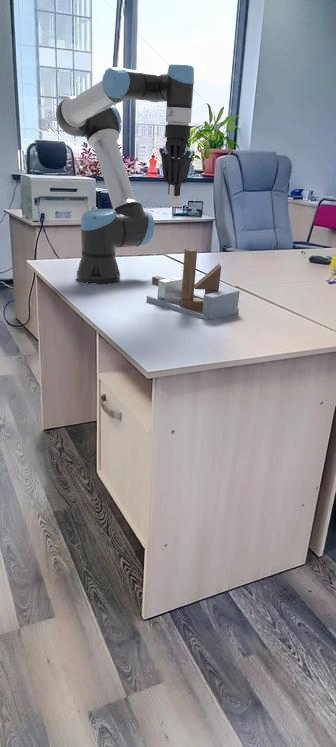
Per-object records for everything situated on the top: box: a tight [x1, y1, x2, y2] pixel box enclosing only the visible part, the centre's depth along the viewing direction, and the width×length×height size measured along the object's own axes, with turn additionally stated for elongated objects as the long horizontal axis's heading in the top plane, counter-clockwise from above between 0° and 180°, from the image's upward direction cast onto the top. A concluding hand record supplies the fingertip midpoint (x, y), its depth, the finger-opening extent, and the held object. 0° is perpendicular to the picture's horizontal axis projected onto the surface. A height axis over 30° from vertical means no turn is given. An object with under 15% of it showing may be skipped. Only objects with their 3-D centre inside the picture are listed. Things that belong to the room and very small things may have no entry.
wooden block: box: [179, 248, 222, 312], centre depth 155 cm, size 4×11×18 cm, turn 93°
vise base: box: [146, 288, 241, 321], centre depth 159 cm, size 25×14×8 cm, turn 45°
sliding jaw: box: [151, 275, 183, 304], centre depth 166 cm, size 10×11×7 cm
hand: (173, 206), depth 169 cm, fingers closed
